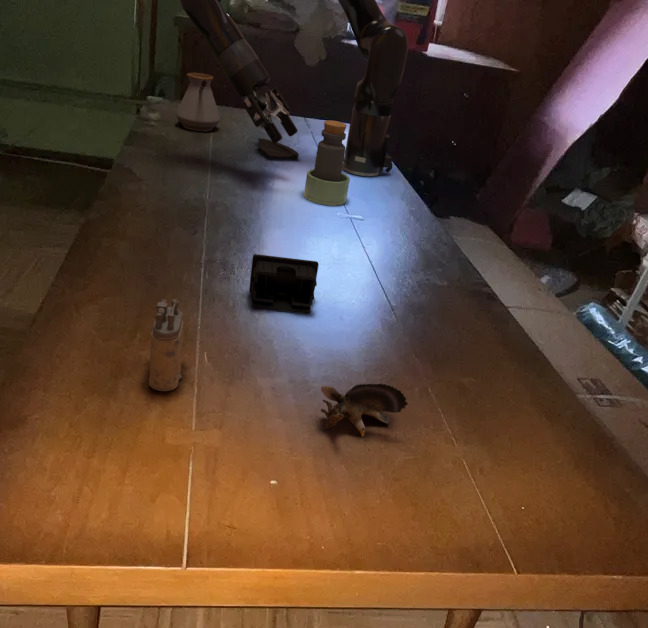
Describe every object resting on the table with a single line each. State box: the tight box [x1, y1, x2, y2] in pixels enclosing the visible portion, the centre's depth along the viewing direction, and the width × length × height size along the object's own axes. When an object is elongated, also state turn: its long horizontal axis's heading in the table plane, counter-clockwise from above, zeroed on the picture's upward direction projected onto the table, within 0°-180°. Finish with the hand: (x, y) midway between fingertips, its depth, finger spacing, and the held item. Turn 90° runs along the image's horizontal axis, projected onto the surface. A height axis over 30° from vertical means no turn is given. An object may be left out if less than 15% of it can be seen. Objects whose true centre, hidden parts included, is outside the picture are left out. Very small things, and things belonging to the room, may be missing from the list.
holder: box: [303, 168, 351, 207], centre depth 158 cm, size 9×9×5 cm
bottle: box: [313, 120, 347, 182], centre depth 155 cm, size 6×6×15 cm
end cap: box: [248, 253, 319, 315], centre depth 112 cm, size 10×7×7 cm
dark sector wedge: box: [257, 138, 300, 161], centre depth 183 cm, size 8×14×2 cm, turn 23°
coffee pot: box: [175, 72, 221, 132], centre depth 185 cm, size 21×12×15 cm, turn 10°
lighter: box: [148, 298, 185, 392], centre depth 88 cm, size 7×4×10 cm, turn 2°
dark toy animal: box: [320, 383, 409, 438], centre depth 87 cm, size 8×7×9 cm
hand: (286, 137), depth 156 cm, fingers open, 8 cm apart
